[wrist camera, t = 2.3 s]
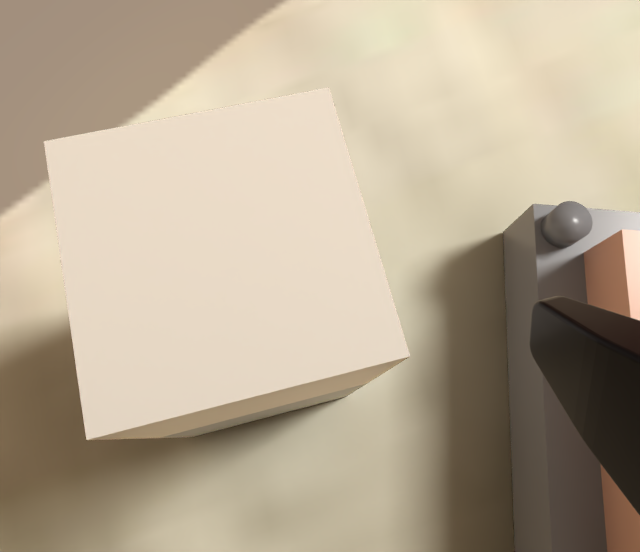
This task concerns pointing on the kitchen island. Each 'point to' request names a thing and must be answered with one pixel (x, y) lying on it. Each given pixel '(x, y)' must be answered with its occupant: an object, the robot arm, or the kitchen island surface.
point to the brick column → (218, 268)
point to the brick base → (536, 394)
